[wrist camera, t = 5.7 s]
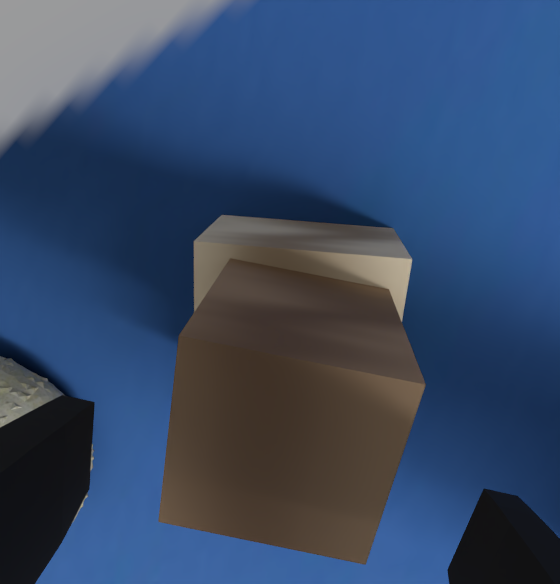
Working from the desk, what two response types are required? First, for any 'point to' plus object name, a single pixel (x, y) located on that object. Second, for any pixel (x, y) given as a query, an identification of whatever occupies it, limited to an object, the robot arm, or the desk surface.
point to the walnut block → (289, 411)
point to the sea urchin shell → (23, 393)
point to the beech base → (304, 252)
